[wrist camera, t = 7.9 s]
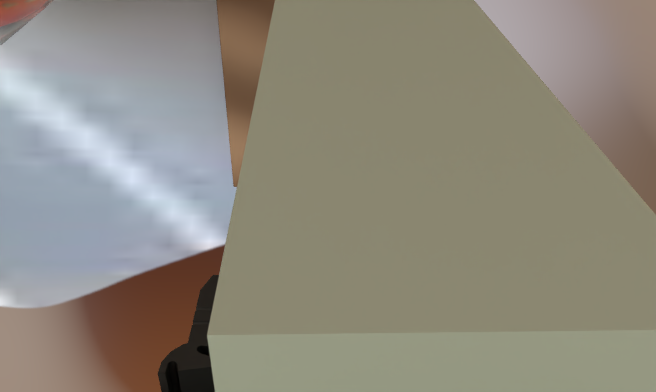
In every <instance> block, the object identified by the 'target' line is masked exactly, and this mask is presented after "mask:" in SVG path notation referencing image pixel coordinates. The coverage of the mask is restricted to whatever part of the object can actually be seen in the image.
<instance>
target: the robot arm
mask: <svg viewBox="0 0 656 392" xmlns="http://www.w3.org/2000/svg"><path fill="white" fill-rule="evenodd" d="M218 279H219V275H213V276H212V277H211V278H210V279H209V280H208V282H207V283H206V284H205V285H204V287H203V288H202V289H201V290H200V294H199V298H198V302H197V307H196V311H195V315H194V320H193V325H192V328H191V332H190V336H189V341H188V343H187V344H183V345H181V346H180V347H178V348H176V349H174V350H173V351H171V352H170V353H169V354H168V355H167V356H166V358H165V359H164V360H163V361H162V362H161V365H160V368H159V372H158V376H159V381H160V386H161V391H162V392H215V388H214V381H213V374H212V367H211V360H210V353H209V346H208V339H207V333H208V328H209V323H210V318H211V313H212V308H213V303H214V298H215V293H216V288H217V283H218Z"/></svg>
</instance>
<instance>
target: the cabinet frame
mask: <svg viewBox="0 0 656 392" xmlns="http://www.w3.org/2000/svg"><path fill="white" fill-rule="evenodd" d="M274 3H275V0H217V11H218V22H219V33H220V43H221V54H222V65H223V76H224V87H225V98H226V108H227V119H228V130H229V141H230V152H231V163H232V173H233V184H234V187H237V185H238V180H239V175H240V170H241V165H242V160H243V155H244V151H245V146H246V141H247V136H248V131H249V126H250V121H251V116H252V111H253V106H254V101H255V96H256V91H257V87H258V82H259V77H260V72H261V67H262V62H263V57H264V52H265V47H266V42H267V37H268V32H269V28H270V23H271V18H272V13H273V8H274Z"/></svg>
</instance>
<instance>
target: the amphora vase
mask: <svg viewBox="0 0 656 392" xmlns="http://www.w3.org/2000/svg"><path fill="white" fill-rule="evenodd" d="M52 1H53V0H0V45H2V44H3V43H4V42H5V41H7V40H8V39H9V38H10V37H11V36H12V35H14V34H15V33H16V32H17V31H18V30H20V29H21V28H22V27H23V26H24V25H25V24H27V23H28V22H29V21H30V20H31V19H32V18H34V17H35V16H36V15H37V14H38V13H40V12H41V11H42V10H43V9H44V8H45V7H47V6H48V5H49V4H50V3H51V2H52Z"/></svg>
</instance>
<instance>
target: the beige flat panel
mask: <svg viewBox="0 0 656 392" xmlns="http://www.w3.org/2000/svg"><path fill="white" fill-rule="evenodd" d="M207 339H208V346H209V353H210V360H211V367H212V374H213V381H214V388H215V392H656V215H655V214H654V212H653V211H652V210H651V209H650V208H649V206H647V204H646V203H645V202H644V201H643V199H642V198H641V197H640V196H639V195H638V194H637V192H636V191H635V190H634V189H633V188H632V186H631V185H630V184H629V183H628V182H627V181H626V179H625V178H624V177H623V176H622V175H621V173H620V172H619V171H618V170H617V169H616V168H615V167H614V165H613V164H612V163H611V162H610V160H609V159H608V158H607V157H606V156H605V155H604V154H603V152H602V151H601V150H600V149H599V147H598V146H597V145H596V144H595V143H594V142H593V140H592V139H591V138H590V137H589V136H588V135H587V133H586V132H585V131H584V130H583V129H582V127H581V126H580V125H579V124H578V123H577V122H576V120H575V119H574V118H573V117H572V116H571V114H570V113H569V112H568V111H567V110H566V108H565V107H564V106H563V105H562V104H561V103H560V101H559V100H558V99H557V98H556V97H555V95H554V94H553V93H552V92H551V91H550V90H549V88H548V87H547V86H546V85H545V84H544V82H543V81H542V80H541V79H540V78H539V77H538V75H537V74H536V73H535V72H534V71H533V70H532V68H531V67H530V66H529V65H528V64H527V62H526V61H525V60H524V59H523V58H522V57H521V55H520V54H519V53H518V52H517V51H516V49H515V48H514V47H513V46H512V45H511V43H510V42H509V41H508V40H507V39H506V38H505V36H504V35H503V34H502V33H501V32H500V31H499V29H498V28H497V27H496V26H495V25H494V23H493V22H492V21H491V20H490V19H489V17H488V16H487V15H486V14H485V13H484V12H483V10H482V9H481V8H480V7H479V6H478V5H477V3H476V2H475V1H474V0H275V3H274V8H273V13H272V18H271V23H270V28H269V32H268V37H267V42H266V47H265V52H264V57H263V62H262V67H261V72H260V77H259V82H258V87H257V91H256V96H255V101H254V106H253V111H252V116H251V121H250V126H249V131H248V136H247V141H246V146H245V151H244V155H243V160H242V165H241V170H240V175H239V180H238V185H237V190H236V195H235V200H234V205H233V210H232V215H231V219H230V224H229V229H228V234H227V239H226V244H225V249H224V254H223V259H222V264H221V269H220V274H219V279H218V283H217V288H216V293H215V298H214V303H213V308H212V313H211V318H210V323H209V328H208V333H207Z"/></svg>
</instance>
